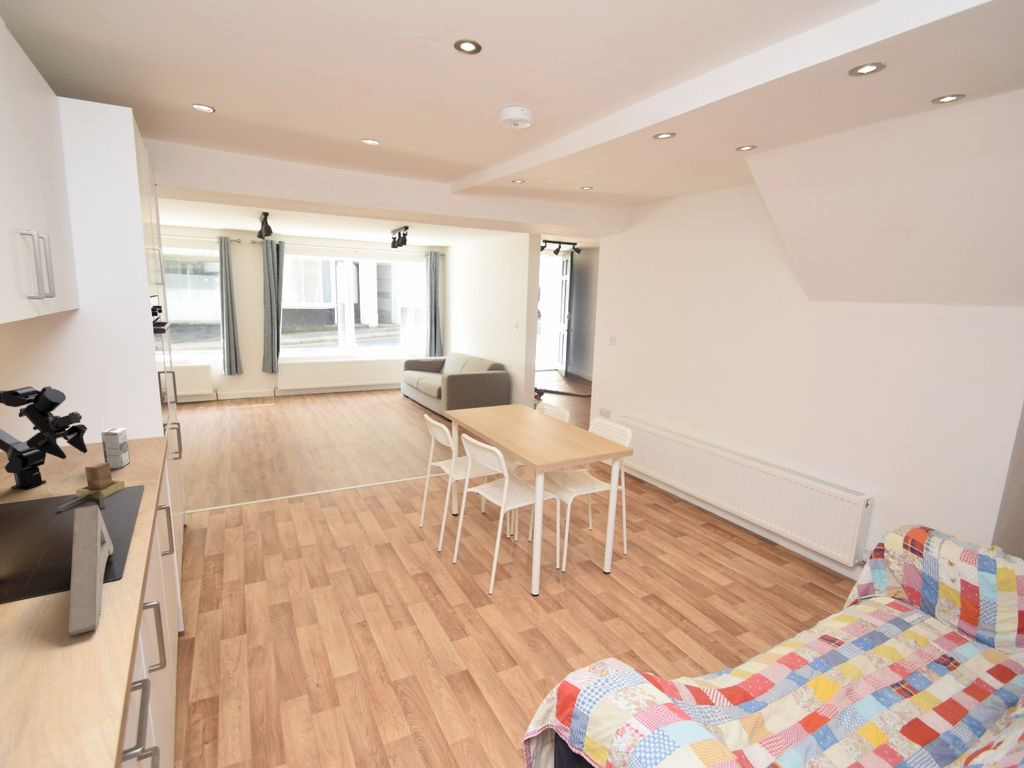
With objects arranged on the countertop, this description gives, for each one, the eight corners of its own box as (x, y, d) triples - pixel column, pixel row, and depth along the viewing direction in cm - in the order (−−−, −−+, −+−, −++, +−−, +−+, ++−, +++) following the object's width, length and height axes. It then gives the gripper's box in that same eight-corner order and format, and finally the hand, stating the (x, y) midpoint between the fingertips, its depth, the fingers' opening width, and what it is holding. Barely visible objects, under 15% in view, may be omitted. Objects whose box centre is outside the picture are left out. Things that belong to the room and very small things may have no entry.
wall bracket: (89, 666, 117) (92, 551, 133) (113, 659, 120) (113, 547, 136) (68, 633, 103) (74, 508, 119) (95, 625, 105) (97, 504, 121)
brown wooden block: (89, 494, 168) (84, 466, 165) (101, 489, 172) (97, 461, 170) (101, 495, 167) (97, 467, 165) (113, 490, 172) (109, 462, 169)
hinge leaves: (46, 510, 156) (45, 503, 155) (101, 485, 174) (100, 479, 174) (91, 514, 155) (90, 506, 154) (141, 488, 173) (140, 482, 173)
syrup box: (114, 463, 194) (109, 427, 191) (131, 462, 195) (126, 427, 192) (105, 468, 189) (100, 432, 186) (122, 468, 190) (117, 432, 187)
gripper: (39, 408, 158) (74, 446, 160) (83, 401, 176) (114, 435, 178) (10, 429, 157) (45, 467, 159) (57, 420, 176) (88, 454, 178)
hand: (75, 455), depth 169 cm, fingers open, 9 cm apart
